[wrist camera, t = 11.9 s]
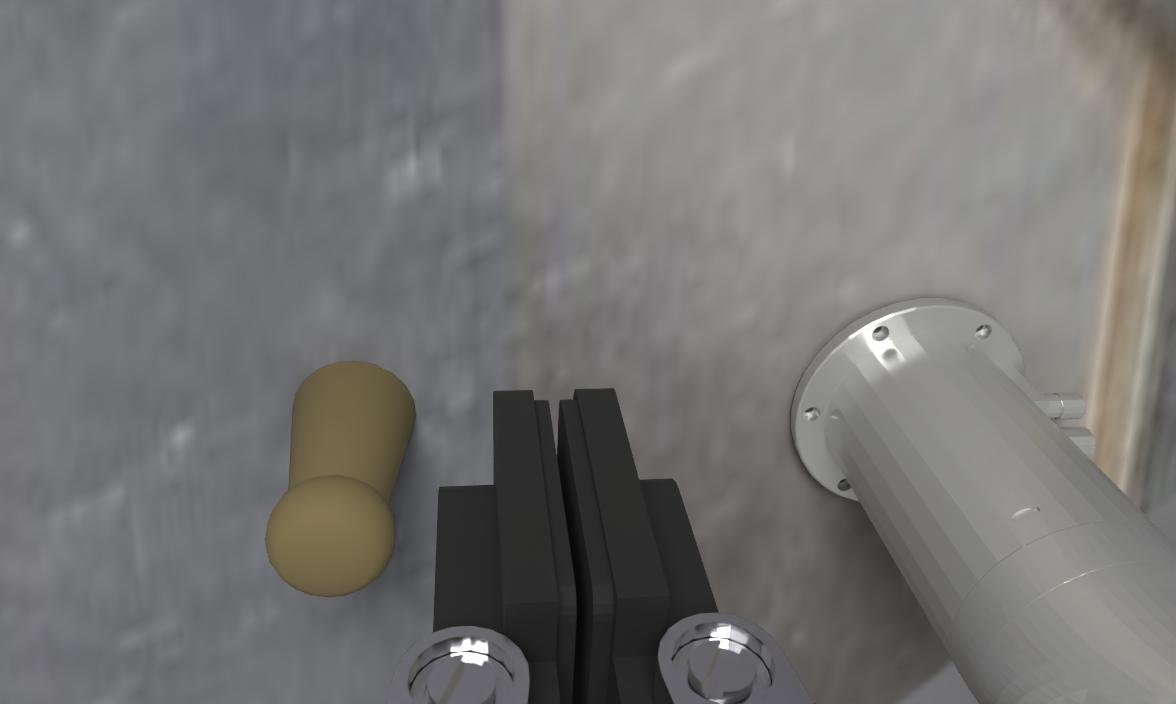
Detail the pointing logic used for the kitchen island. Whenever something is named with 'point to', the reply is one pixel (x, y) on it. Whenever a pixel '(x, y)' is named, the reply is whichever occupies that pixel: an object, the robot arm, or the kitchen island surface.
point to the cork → (341, 479)
